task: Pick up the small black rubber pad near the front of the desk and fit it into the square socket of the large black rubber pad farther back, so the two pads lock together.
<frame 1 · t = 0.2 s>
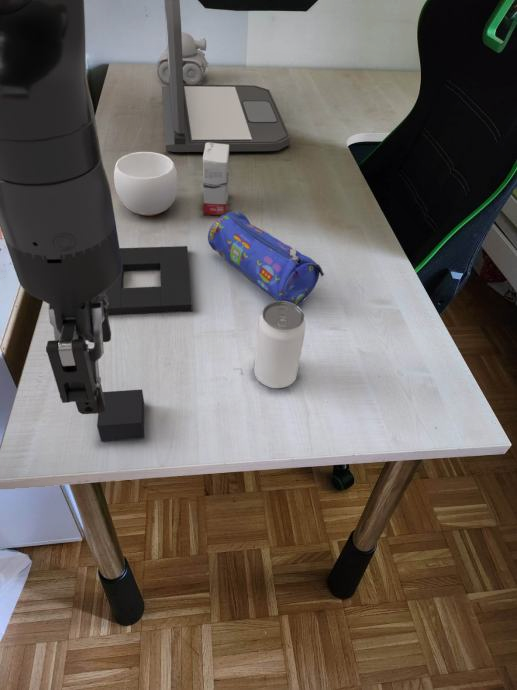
hand: (96, 373, 47), 22 cm above the table, tool pointing down, fingers open, 8 cm apart
pencil case: (260, 278, 94), on the table
ink box: (216, 205, 110), on the table
can: (275, 374, 78), on the table
gray camera stand: (221, 123, 139), on the table
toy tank: (183, 80, 159), on the table
plug pad: (123, 422, 70), on the table
socket pad: (142, 281, 90), on the table
cup: (149, 209, 107), on the table
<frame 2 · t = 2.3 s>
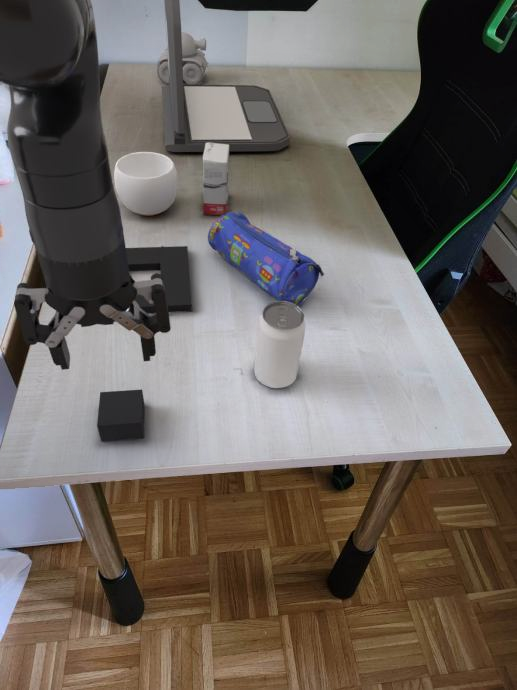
hand: (106, 359, 56), 16 cm above the table, tool pointing down, fingers open, 8 cm apart
nothing on the table moved.
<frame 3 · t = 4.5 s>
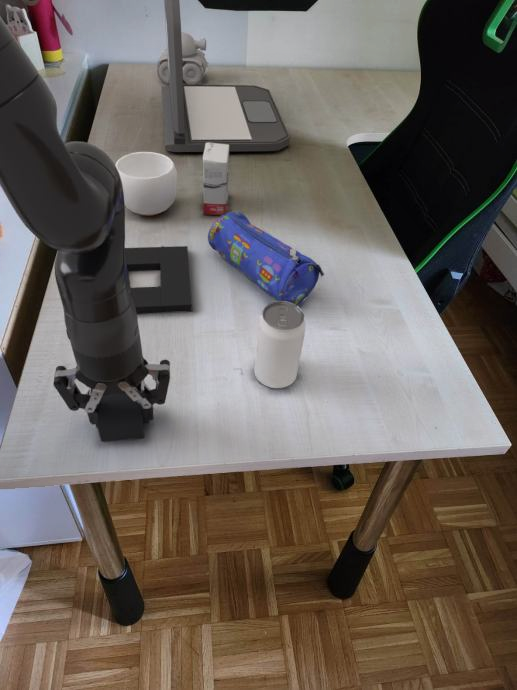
hand: (123, 420, 69), 1 cm above the table, tool pointing down, fingers closed on plug pad, 5 cm apart
plug pad: (123, 422, 70), on the table, touching gripper
everything else where it was.
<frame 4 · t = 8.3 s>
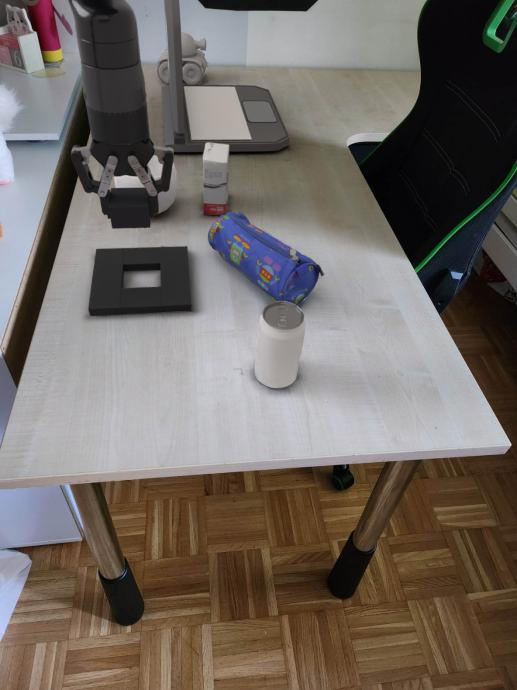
hand: (131, 214, 77), 15 cm above the table, tool pointing down, fingers closed on plug pad, 5 cm apart
plug pad: (132, 218, 77), point 15 cm above the table, touching gripper
everything else where it was.
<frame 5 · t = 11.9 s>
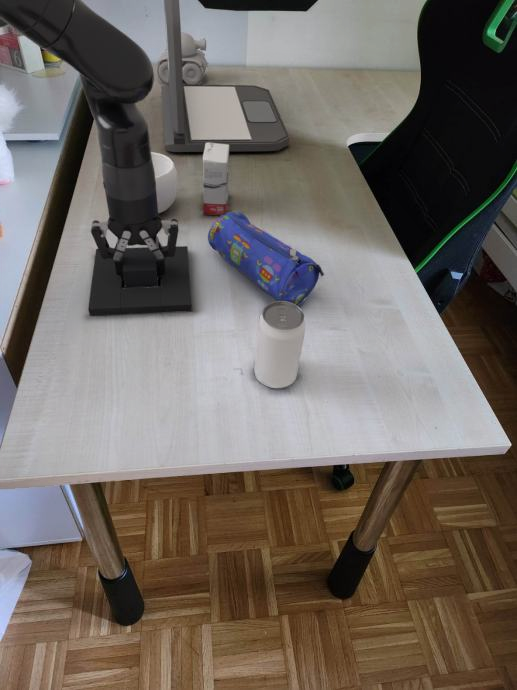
hand: (141, 274, 89), 2 cm above the table, tool pointing down, fingers closed on plug pad, 5 cm apart
plug pad: (141, 277, 90), point 1 cm above the table, touching gripper
everything else where it was.
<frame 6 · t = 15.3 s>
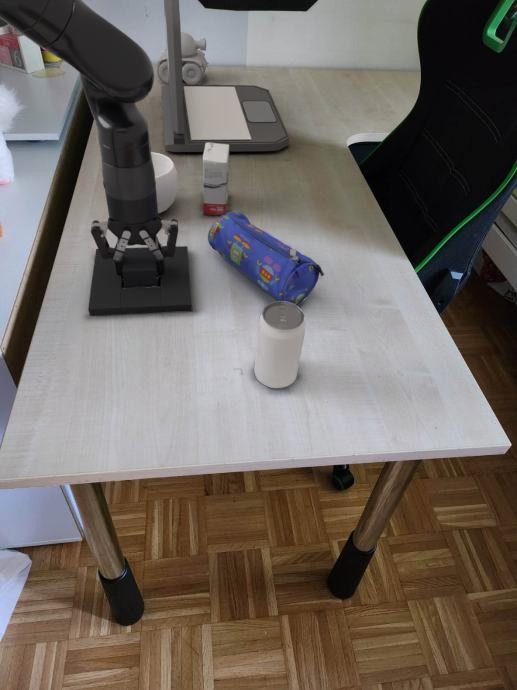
hand: (141, 274, 89), 2 cm above the table, tool pointing down, fingers closed on plug pad, 5 cm apart
plug pad: (141, 277, 90), point 1 cm above the table, touching gripper
everything else where it was.
when the fingers open (2 cm above the table, at t = 18.1 s): plug pad drops 2 cm, resting in socket pad.
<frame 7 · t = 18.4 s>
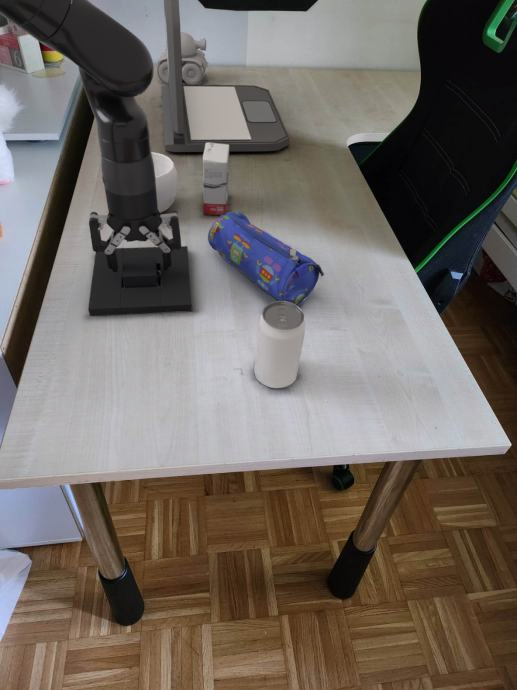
hand: (140, 268, 88), 3 cm above the table, tool pointing down, fingers open, 8 cm apart
plug pad: (141, 282, 90), resting in socket pad
everything else where it was.
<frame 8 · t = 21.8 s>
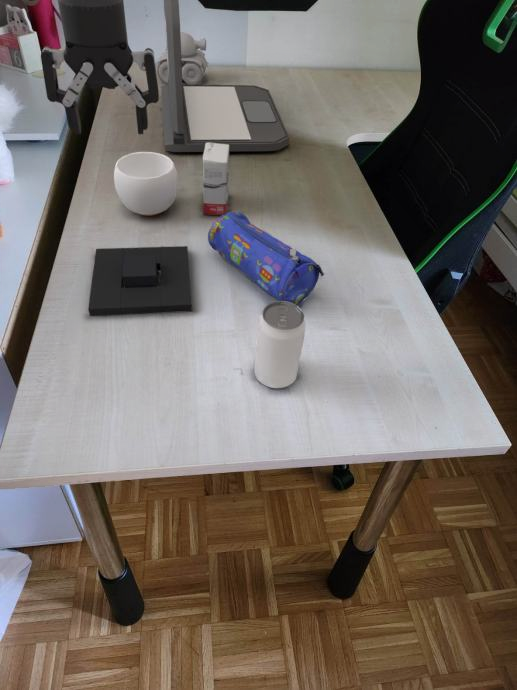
hand: (109, 131, 72), 26 cm above the table, tool pointing down, fingers open, 8 cm apart
nothing on the table moved.
at the end: plug pad 0.1 cm off-centre in the socket pad, point 0.0 cm above the socket pad's base; plug pad tilted 0°; the gripper is holding nothing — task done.
